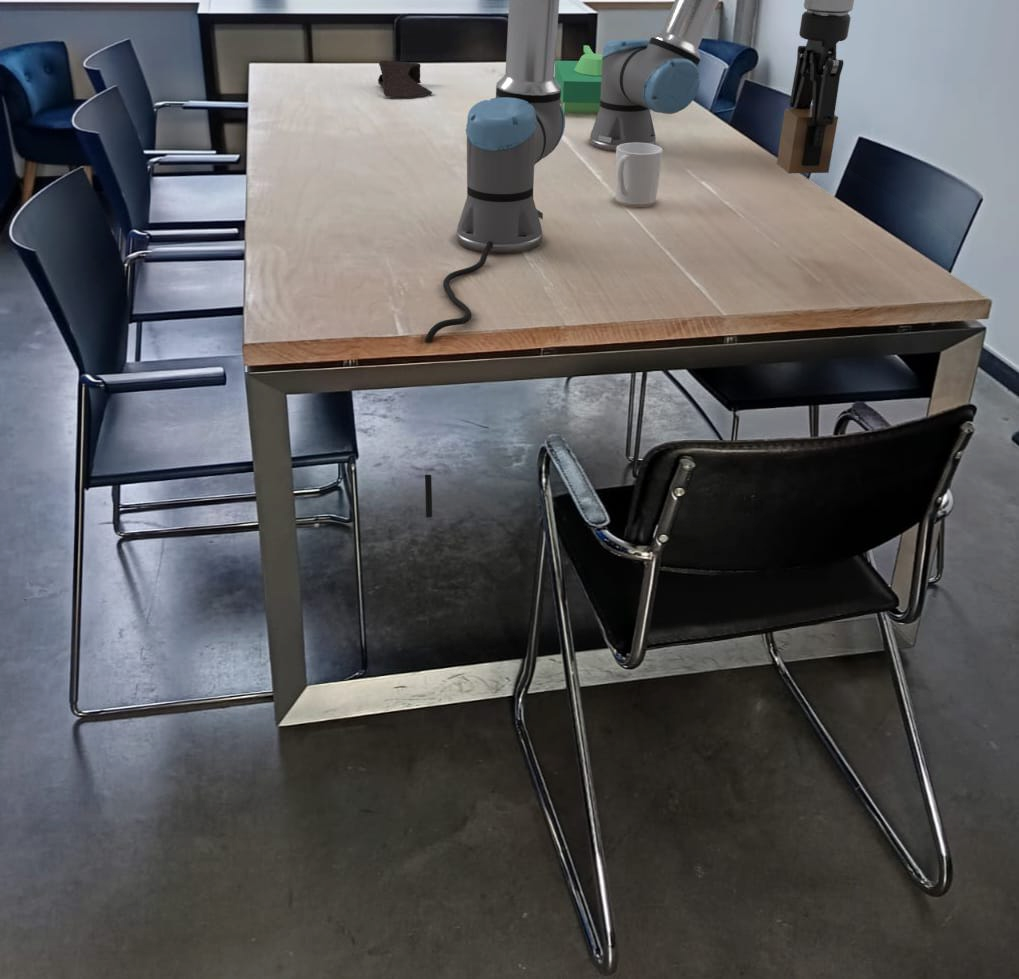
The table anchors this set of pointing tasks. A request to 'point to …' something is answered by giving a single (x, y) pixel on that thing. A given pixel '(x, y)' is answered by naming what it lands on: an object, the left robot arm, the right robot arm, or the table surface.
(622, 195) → the mug
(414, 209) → the table surface
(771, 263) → the table surface
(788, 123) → the brick
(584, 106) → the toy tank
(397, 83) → the axe head
